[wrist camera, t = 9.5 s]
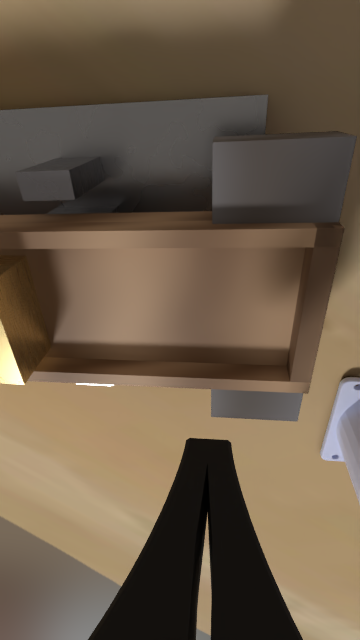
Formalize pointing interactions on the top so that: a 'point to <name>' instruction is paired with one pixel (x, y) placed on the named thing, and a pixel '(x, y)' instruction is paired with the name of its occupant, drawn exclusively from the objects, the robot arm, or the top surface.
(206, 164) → the pivot stand
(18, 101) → the top surface
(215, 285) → the brown wooden tray
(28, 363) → the yellow block
